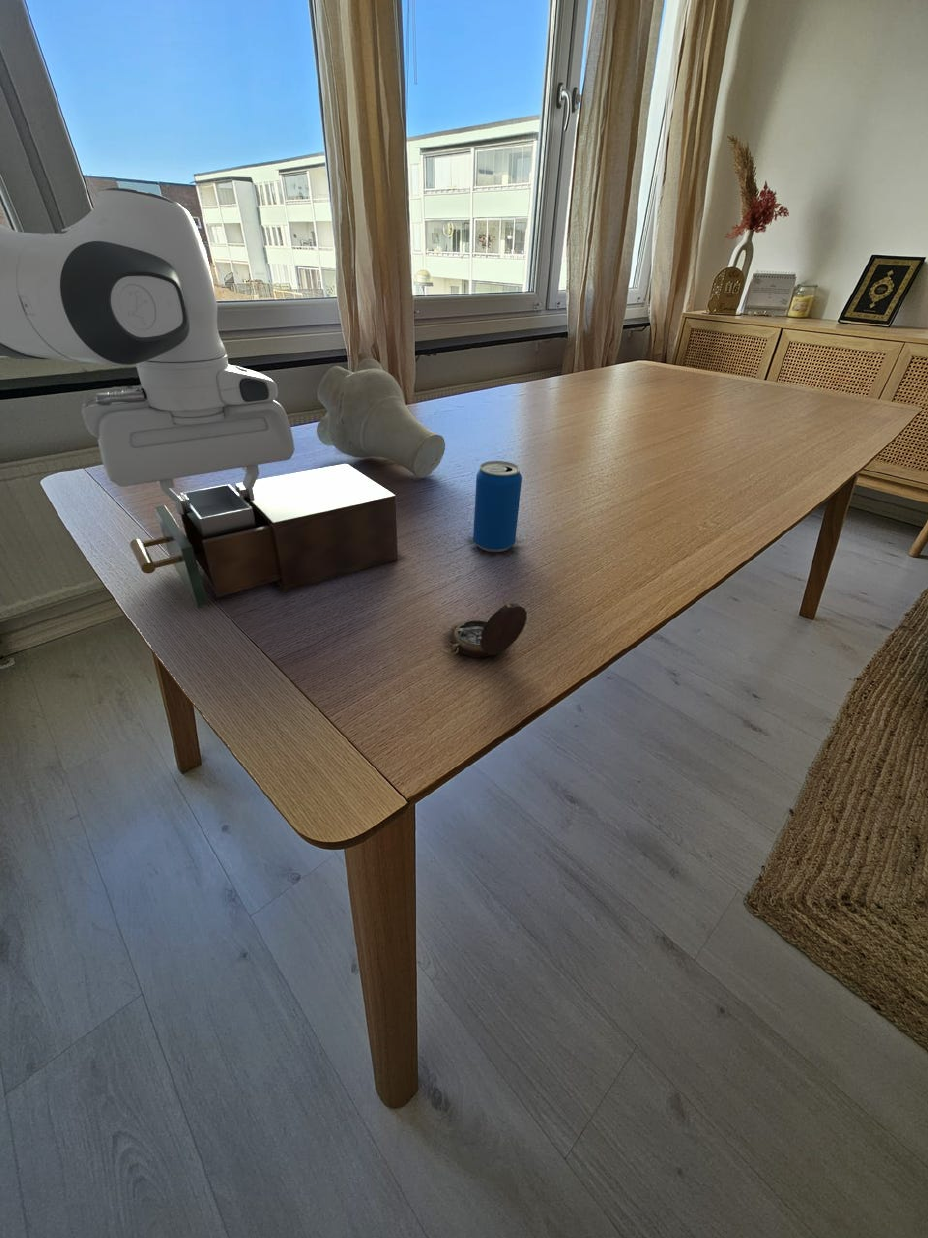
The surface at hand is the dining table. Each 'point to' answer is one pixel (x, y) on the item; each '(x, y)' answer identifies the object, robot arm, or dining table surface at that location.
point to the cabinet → (327, 523)
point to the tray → (219, 511)
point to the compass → (489, 632)
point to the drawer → (213, 556)
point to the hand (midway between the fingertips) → (217, 506)
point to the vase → (375, 419)
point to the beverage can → (496, 505)
